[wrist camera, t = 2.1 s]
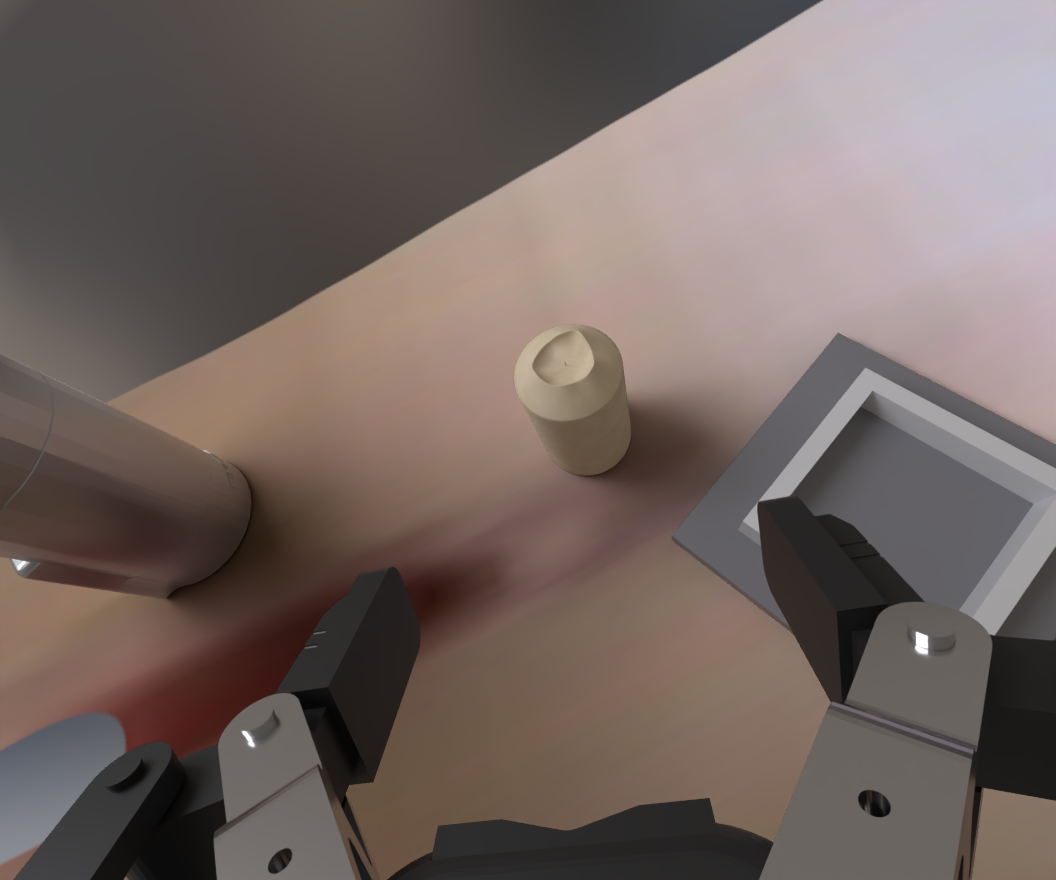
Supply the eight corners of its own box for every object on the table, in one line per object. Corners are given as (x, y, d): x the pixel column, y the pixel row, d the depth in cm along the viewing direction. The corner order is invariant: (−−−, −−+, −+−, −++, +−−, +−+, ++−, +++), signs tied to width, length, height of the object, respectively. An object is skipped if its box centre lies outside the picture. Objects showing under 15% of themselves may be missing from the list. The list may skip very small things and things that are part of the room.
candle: (572, 384, 37) (543, 293, 28) (647, 417, 35) (642, 330, 26) (529, 453, 36) (485, 380, 27) (604, 492, 34) (584, 427, 25)
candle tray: (959, 762, 26) (994, 773, 23) (671, 539, 32) (672, 527, 29) (1135, 499, 28) (1185, 481, 25) (833, 341, 34) (847, 313, 32)
